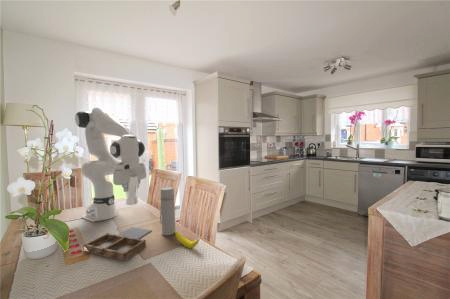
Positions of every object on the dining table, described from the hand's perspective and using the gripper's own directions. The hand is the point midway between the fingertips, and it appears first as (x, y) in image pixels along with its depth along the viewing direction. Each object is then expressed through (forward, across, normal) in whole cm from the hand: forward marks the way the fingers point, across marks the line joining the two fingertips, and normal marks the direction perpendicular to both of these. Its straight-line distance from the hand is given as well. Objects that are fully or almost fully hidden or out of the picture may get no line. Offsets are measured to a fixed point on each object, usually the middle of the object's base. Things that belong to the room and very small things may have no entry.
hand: (131, 189), depth 115 cm
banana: (+25, +2, +35) cm, 43 cm away
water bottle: (+25, -7, +17) cm, 31 cm away
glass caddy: (+25, +15, +3) cm, 29 cm away
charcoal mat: (+25, 0, 0) cm, 25 cm away
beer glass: (+8, 0, 0) cm, 8 cm away
